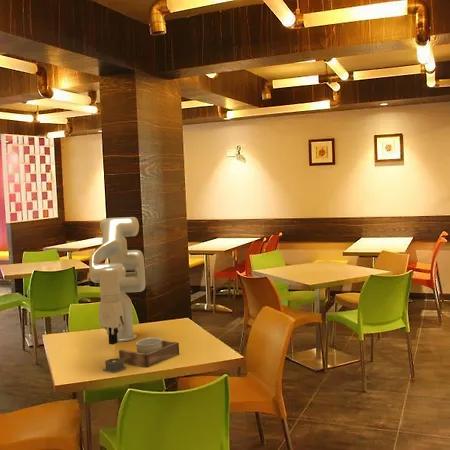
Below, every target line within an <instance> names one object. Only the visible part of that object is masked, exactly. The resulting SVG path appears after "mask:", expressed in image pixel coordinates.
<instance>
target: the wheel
mask: <svg viewBox="0 0 450 450" xmlns="http://www.w3.org/2000/svg"><path fill="white" fill-rule="evenodd" d="M112 361H116V362H112ZM104 365H105V366H104V367H105V368H106V370H108V371H116V370H120V369H123V368H124V367H125V366H124V363H123V359H119V357H118V358H110V359H106V360H105V361H104ZM105 368H104V369H105ZM123 370H124V369H123Z"/></svg>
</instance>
